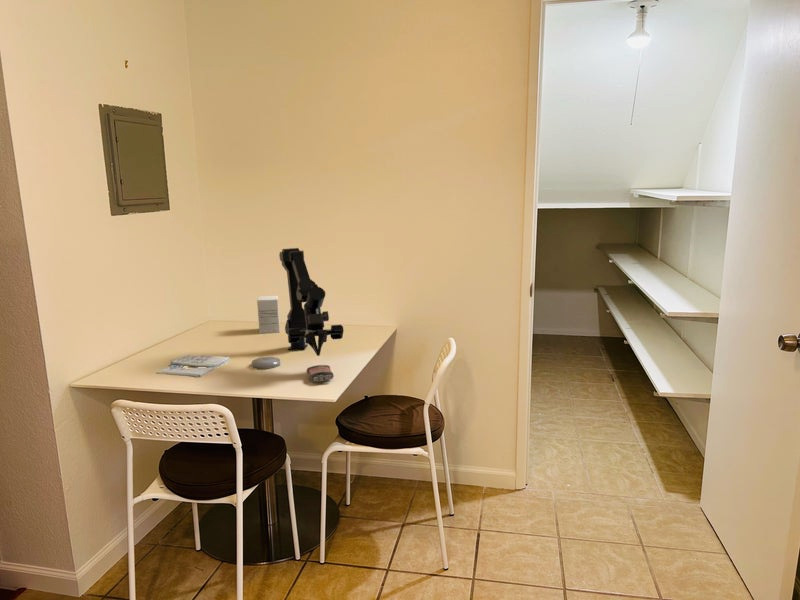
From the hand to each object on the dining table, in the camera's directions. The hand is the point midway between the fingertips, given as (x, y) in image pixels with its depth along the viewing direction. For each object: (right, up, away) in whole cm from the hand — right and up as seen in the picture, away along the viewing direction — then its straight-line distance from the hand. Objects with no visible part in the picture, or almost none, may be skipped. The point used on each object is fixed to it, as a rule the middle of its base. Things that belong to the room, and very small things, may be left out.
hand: (318, 355), depth 202 cm
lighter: (0, -5, +2) cm, 6 cm away
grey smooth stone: (-21, -5, +14) cm, 26 cm away
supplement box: (-30, +5, +63) cm, 70 cm away
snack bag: (-47, -6, +14) cm, 49 cm away
